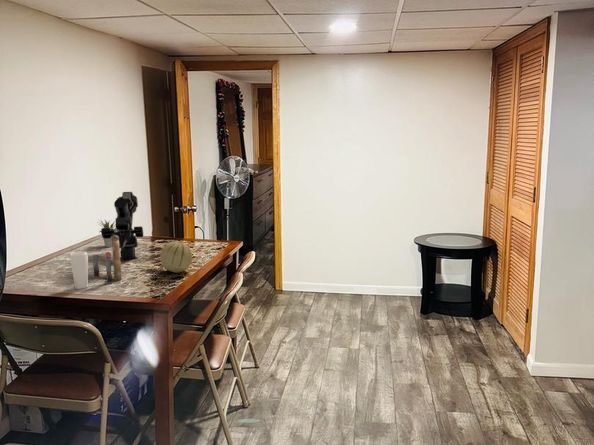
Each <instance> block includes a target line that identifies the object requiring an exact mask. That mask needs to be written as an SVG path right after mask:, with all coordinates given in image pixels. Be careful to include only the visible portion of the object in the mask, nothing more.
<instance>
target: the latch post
mask: <svg viewBox="0 0 594 445" xmlns="http://www.w3.org/2000/svg"><path fill="white" fill-rule="evenodd" d="M111 256H112V254H111V252H110V251H107V252H105V253H104V257H105V266H106V267H105V269H106V274H107V278H106V281H105V282H104V283H105V284H110V285H111V284H114V283H115V281H116V280H114V279H112V274H113V273H112V261H111V260H112V258H111Z"/></svg>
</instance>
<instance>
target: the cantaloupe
mask: <svg viewBox="0 0 594 445" xmlns="http://www.w3.org/2000/svg"><path fill="white" fill-rule="evenodd" d="M159 259H160V263H161V264H160V265H161V266H162V267H163V268H164V269H165V270H167V271H170V272H171V273H182V272H185V271H186V270H188V269H189V267H190V266H191V265H192V262H193V250H191V247H190V246H189V245H188V244H186V243H184V242H183V240H181V239H180V241H177V240H176V241H175V240H174V241H170V242H168V243H167V244H166V245H164V247H163V248H162V250H161V252H160V255H159Z"/></svg>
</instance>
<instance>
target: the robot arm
mask: <svg viewBox="0 0 594 445" xmlns="http://www.w3.org/2000/svg"><path fill="white" fill-rule="evenodd" d="M121 194H122V195H121V196H119V197H117V198H116V200H115V201H114V204H113V206H114V209H115V212H116V217H115V224H116V225H115V228H116V229H115V228H113V229H114V230H111V229H110V227H109V228H104V227H103V228H102V227H101V228H100V231H101V232H100V233H101V237H102V239H103V238H104V239H108V238H111V237H112V235H117V236H118V237H119V249H120V260H123V261H131V260H135V259H137V258H138V256H136V248H137V247H138V246H139V245H138V239H137V238H143V237H144V229H143V226H141V225H140V226H139V225H138V226H133V219H134V214H135V213H136V212H137V208H138V207H139V201H138V197H137V196H136V195H134V193H133V191H122V192H121ZM104 239H103V240H104Z"/></svg>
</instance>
